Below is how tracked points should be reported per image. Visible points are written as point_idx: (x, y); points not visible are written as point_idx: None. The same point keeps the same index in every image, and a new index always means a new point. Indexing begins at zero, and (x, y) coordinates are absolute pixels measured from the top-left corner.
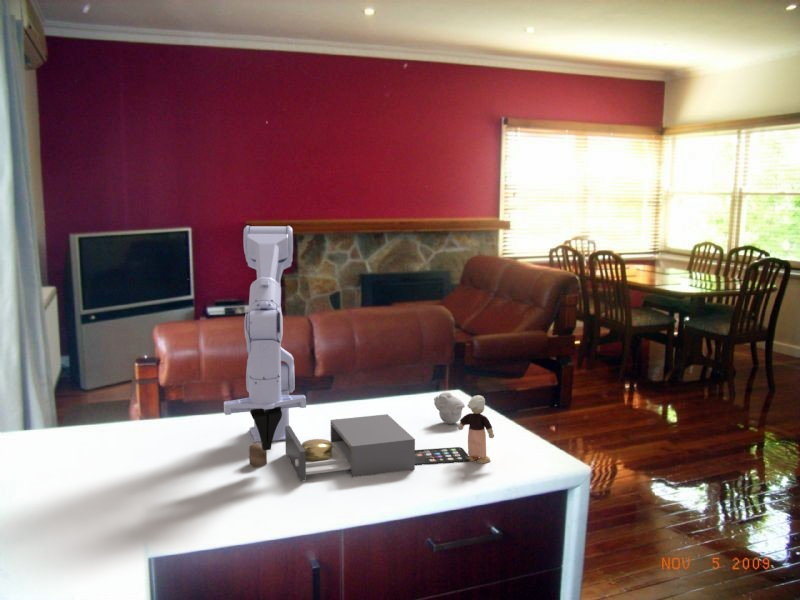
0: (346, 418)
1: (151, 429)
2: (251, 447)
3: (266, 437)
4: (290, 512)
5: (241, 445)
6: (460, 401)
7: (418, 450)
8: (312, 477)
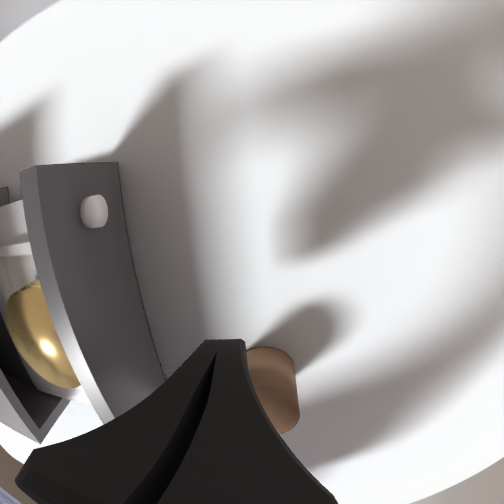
0: (14, 429)
1: (418, 489)
2: (291, 408)
3: (212, 380)
4: None
5: None
6: None
7: None
8: None
